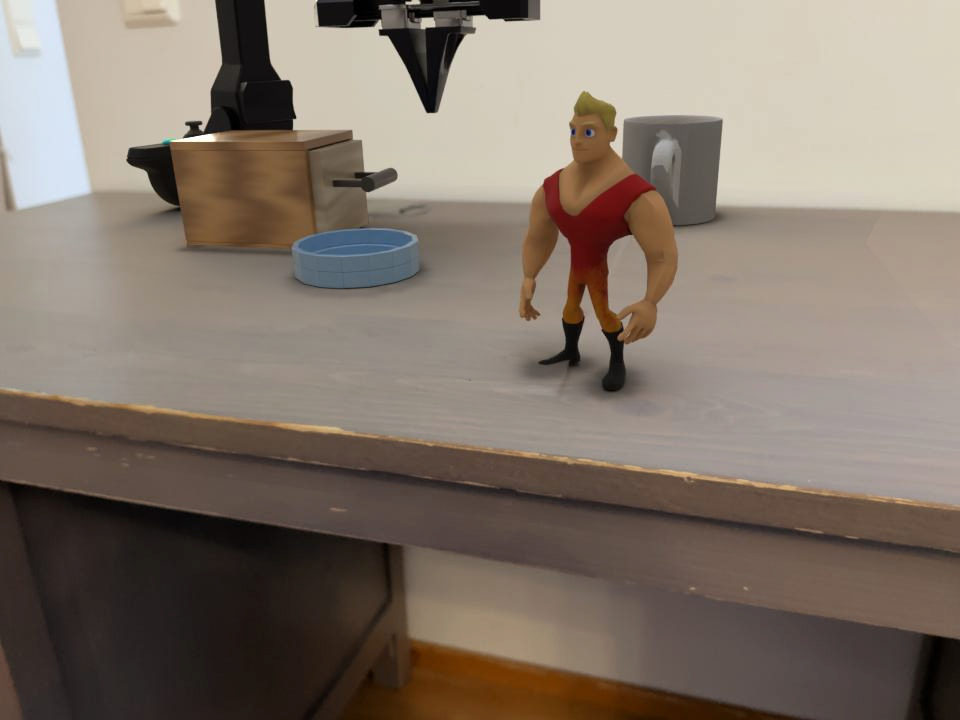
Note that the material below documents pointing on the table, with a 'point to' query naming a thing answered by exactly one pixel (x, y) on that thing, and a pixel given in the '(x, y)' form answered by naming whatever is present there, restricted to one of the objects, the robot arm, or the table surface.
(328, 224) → the drawer
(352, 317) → the table surface
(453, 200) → the table surface
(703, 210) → the coffee mug
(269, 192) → the cabinet
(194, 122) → the controller
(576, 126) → the action figure
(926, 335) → the table surface
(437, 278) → the table surface
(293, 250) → the bowl
